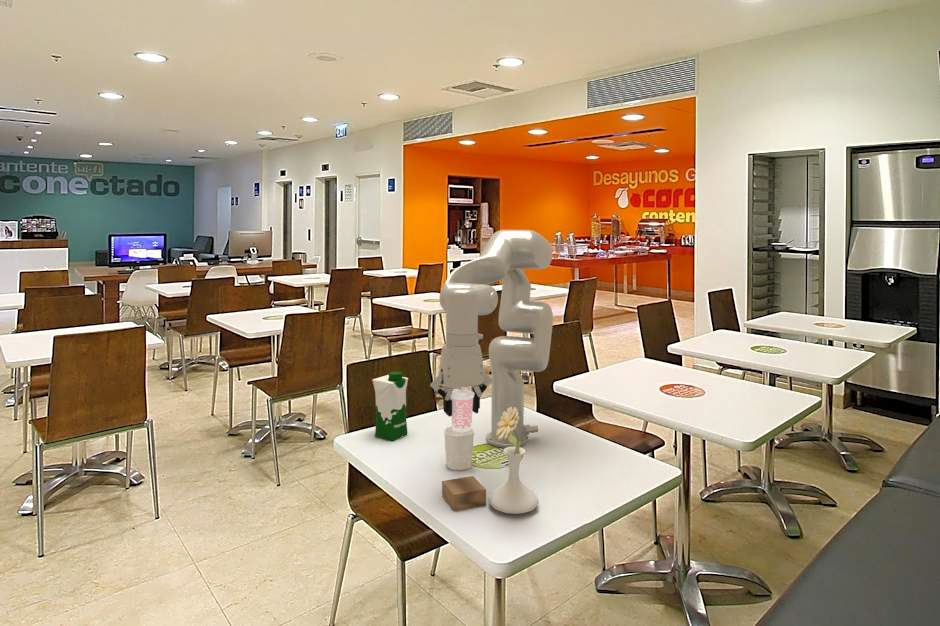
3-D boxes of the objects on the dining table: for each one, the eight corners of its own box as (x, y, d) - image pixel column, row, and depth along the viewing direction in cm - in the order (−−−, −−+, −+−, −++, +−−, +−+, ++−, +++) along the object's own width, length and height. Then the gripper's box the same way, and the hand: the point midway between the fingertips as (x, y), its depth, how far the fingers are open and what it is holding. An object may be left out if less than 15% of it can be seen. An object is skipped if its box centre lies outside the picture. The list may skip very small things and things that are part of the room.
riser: (473, 491, 155) (473, 475, 154) (485, 505, 148) (486, 489, 147) (442, 496, 152) (442, 480, 151) (453, 511, 145) (453, 494, 144)
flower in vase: (490, 495, 153) (491, 395, 149) (537, 497, 152) (540, 396, 148) (486, 521, 140) (487, 412, 136) (538, 523, 139) (541, 414, 135)
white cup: (452, 473, 165) (452, 437, 164) (439, 463, 172) (439, 427, 171) (478, 468, 169) (479, 432, 167) (465, 458, 176) (465, 423, 174)
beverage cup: (445, 431, 152) (444, 374, 149) (454, 423, 157) (454, 368, 155) (468, 434, 149) (469, 376, 147) (477, 426, 155) (478, 370, 153)
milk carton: (392, 443, 187) (391, 377, 184) (370, 436, 192) (368, 372, 189) (411, 434, 194) (411, 371, 191) (390, 428, 199) (388, 366, 196)
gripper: (489, 334, 156) (488, 405, 159) (422, 339, 150) (422, 412, 153) (501, 340, 150) (500, 413, 152) (431, 345, 143) (432, 422, 146)
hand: (461, 412), depth 153 cm, fingers closed on beverage cup, 6 cm apart
